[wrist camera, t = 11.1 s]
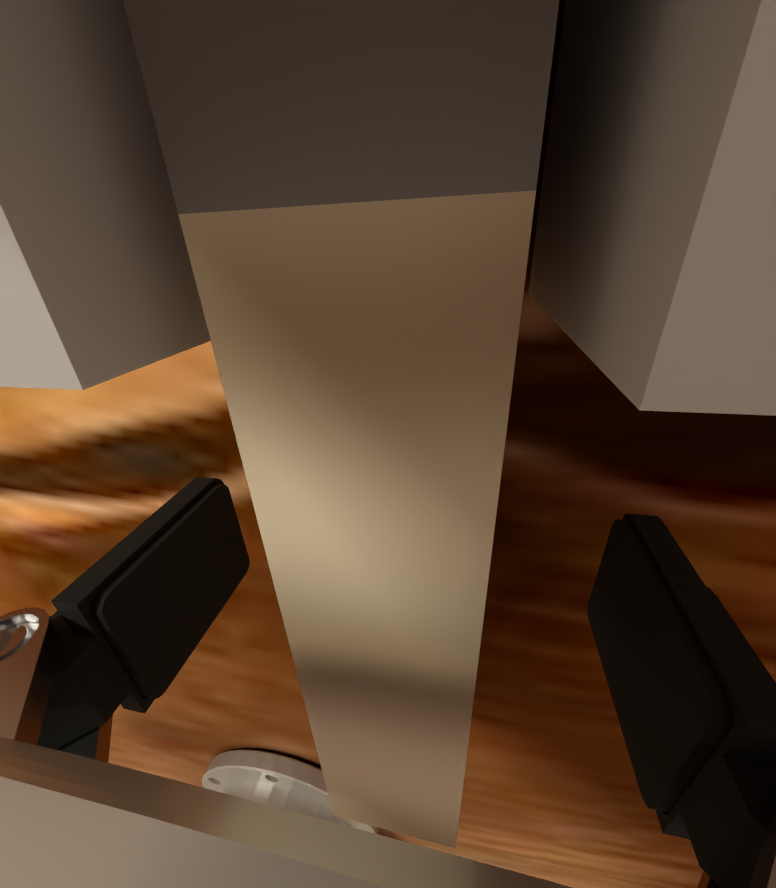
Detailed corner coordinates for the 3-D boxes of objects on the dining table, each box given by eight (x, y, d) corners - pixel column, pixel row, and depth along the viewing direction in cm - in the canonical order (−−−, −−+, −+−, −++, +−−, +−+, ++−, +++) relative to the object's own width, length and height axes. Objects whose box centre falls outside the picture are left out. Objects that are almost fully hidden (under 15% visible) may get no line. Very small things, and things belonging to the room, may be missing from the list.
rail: (461, 644, 15) (455, 847, 10) (379, 630, 16) (333, 815, 11) (514, 31, 7) (629, -564, 2) (334, 57, 8) (38, -322, 2)
